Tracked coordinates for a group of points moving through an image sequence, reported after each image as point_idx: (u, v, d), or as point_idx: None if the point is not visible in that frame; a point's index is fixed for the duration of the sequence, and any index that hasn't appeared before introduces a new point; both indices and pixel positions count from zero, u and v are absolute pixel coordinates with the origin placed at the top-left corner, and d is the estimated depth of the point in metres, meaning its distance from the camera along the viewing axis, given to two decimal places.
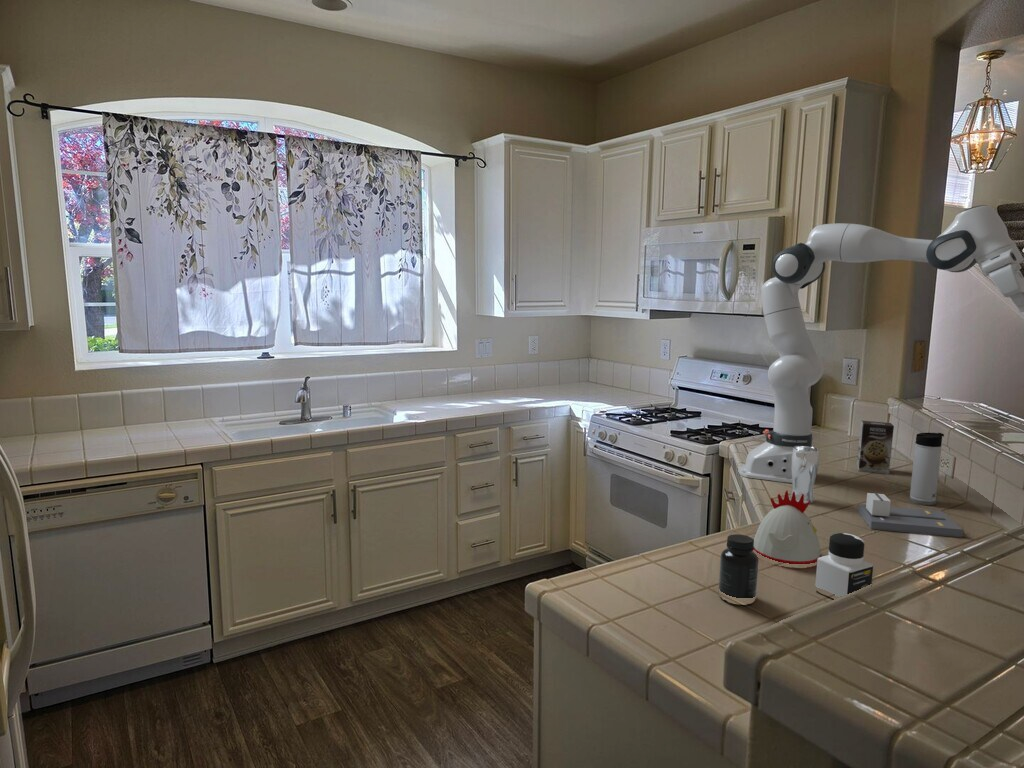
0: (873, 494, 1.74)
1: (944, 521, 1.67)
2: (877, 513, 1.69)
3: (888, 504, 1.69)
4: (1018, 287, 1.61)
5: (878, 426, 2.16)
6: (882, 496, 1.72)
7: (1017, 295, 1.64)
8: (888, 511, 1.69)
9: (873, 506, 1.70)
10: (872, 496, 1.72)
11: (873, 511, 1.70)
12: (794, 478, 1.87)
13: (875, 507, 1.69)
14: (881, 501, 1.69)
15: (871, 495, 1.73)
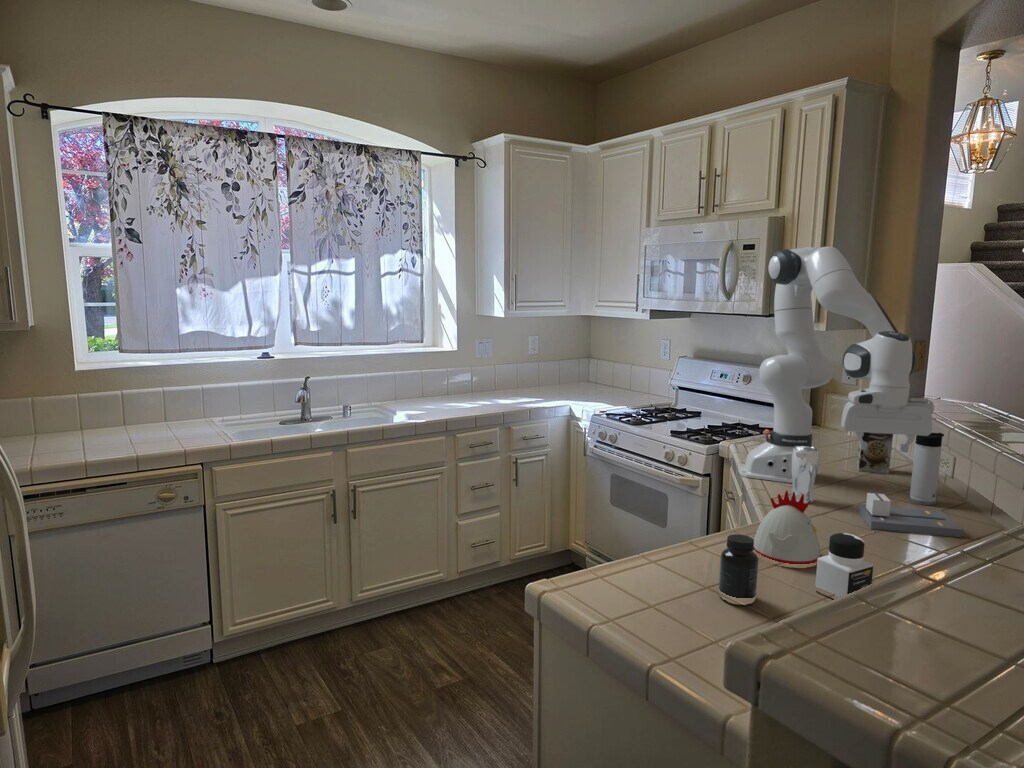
0: (873, 494, 1.74)
1: (944, 521, 1.67)
2: (877, 513, 1.69)
3: (888, 504, 1.69)
4: (844, 427, 1.70)
5: None
6: (882, 496, 1.72)
7: (857, 432, 1.71)
8: (888, 511, 1.69)
9: (873, 506, 1.70)
10: (872, 496, 1.72)
11: (873, 511, 1.70)
12: (794, 478, 1.87)
13: (875, 507, 1.69)
14: (881, 501, 1.69)
15: (871, 495, 1.73)
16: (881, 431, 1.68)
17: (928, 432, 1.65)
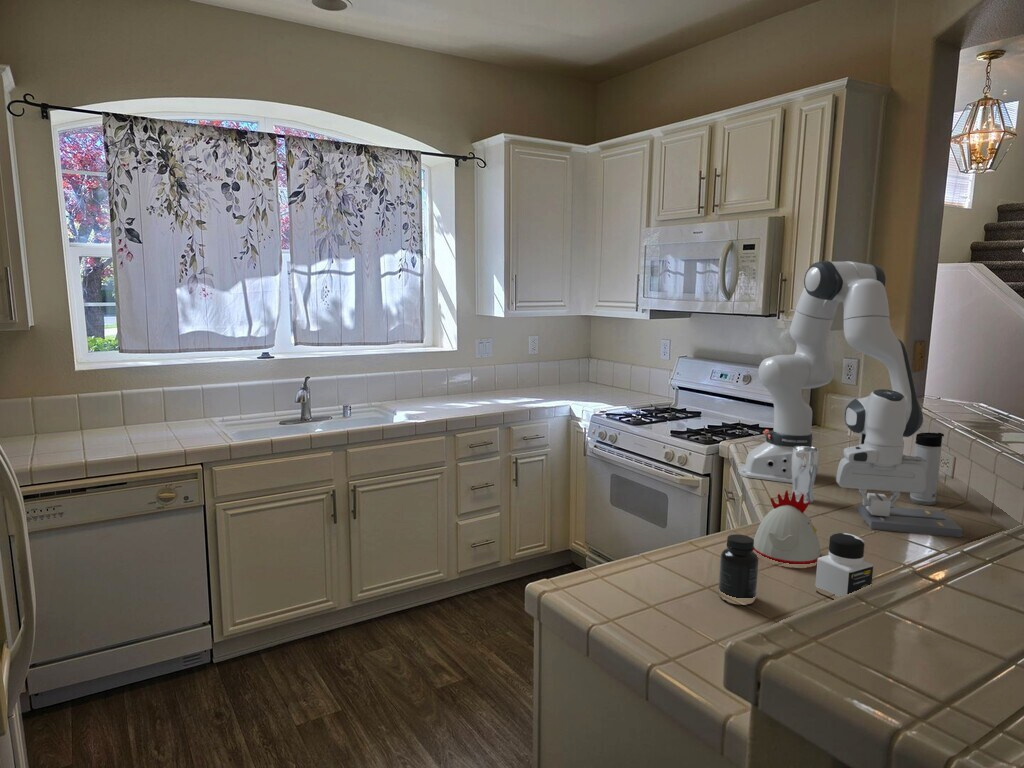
0: (873, 494, 1.74)
1: (944, 521, 1.67)
2: (877, 513, 1.69)
3: (888, 504, 1.69)
4: (839, 483, 1.72)
5: None
6: (882, 496, 1.72)
7: (860, 489, 1.72)
8: (888, 511, 1.69)
9: (873, 506, 1.70)
10: (872, 496, 1.72)
11: (873, 511, 1.70)
12: (794, 478, 1.87)
13: (875, 507, 1.69)
14: (881, 501, 1.69)
15: (871, 495, 1.73)
16: (875, 488, 1.70)
17: (922, 490, 1.67)
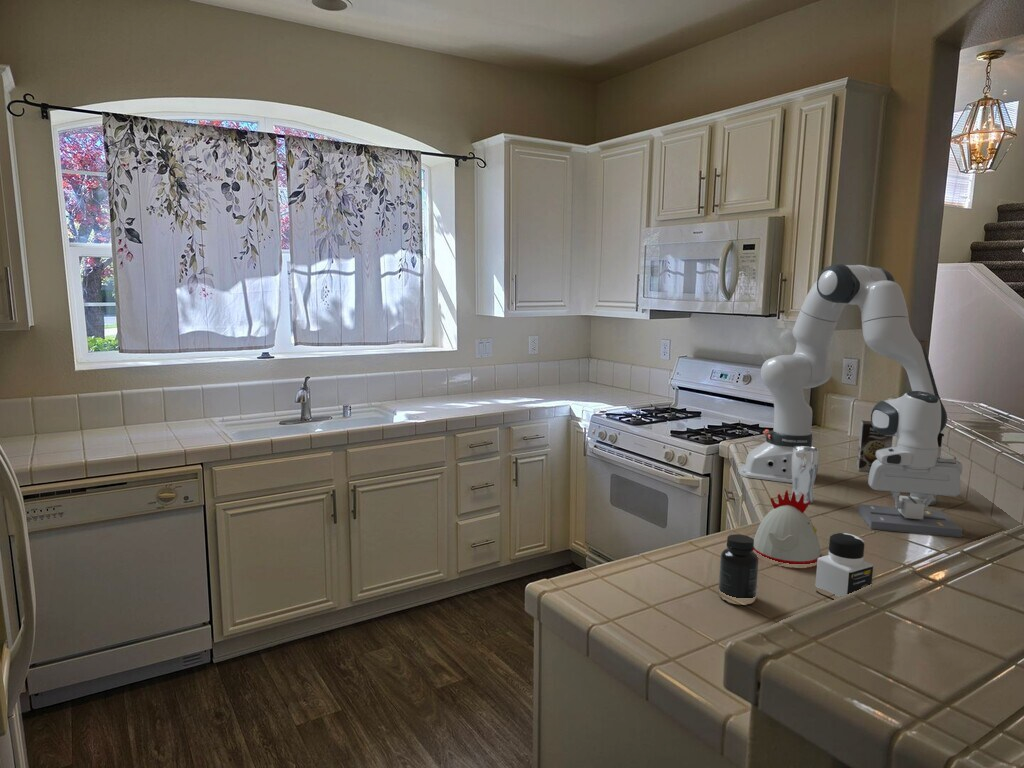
0: (906, 497, 1.72)
1: (944, 521, 1.67)
2: (910, 516, 1.68)
3: (922, 507, 1.67)
4: (871, 485, 1.70)
5: None
6: (915, 499, 1.70)
7: (893, 492, 1.70)
8: (922, 514, 1.67)
9: (906, 509, 1.68)
10: (905, 499, 1.70)
11: (906, 514, 1.68)
12: (794, 478, 1.87)
13: (909, 510, 1.67)
14: (915, 504, 1.67)
15: (904, 498, 1.71)
16: (909, 491, 1.68)
17: (956, 493, 1.65)
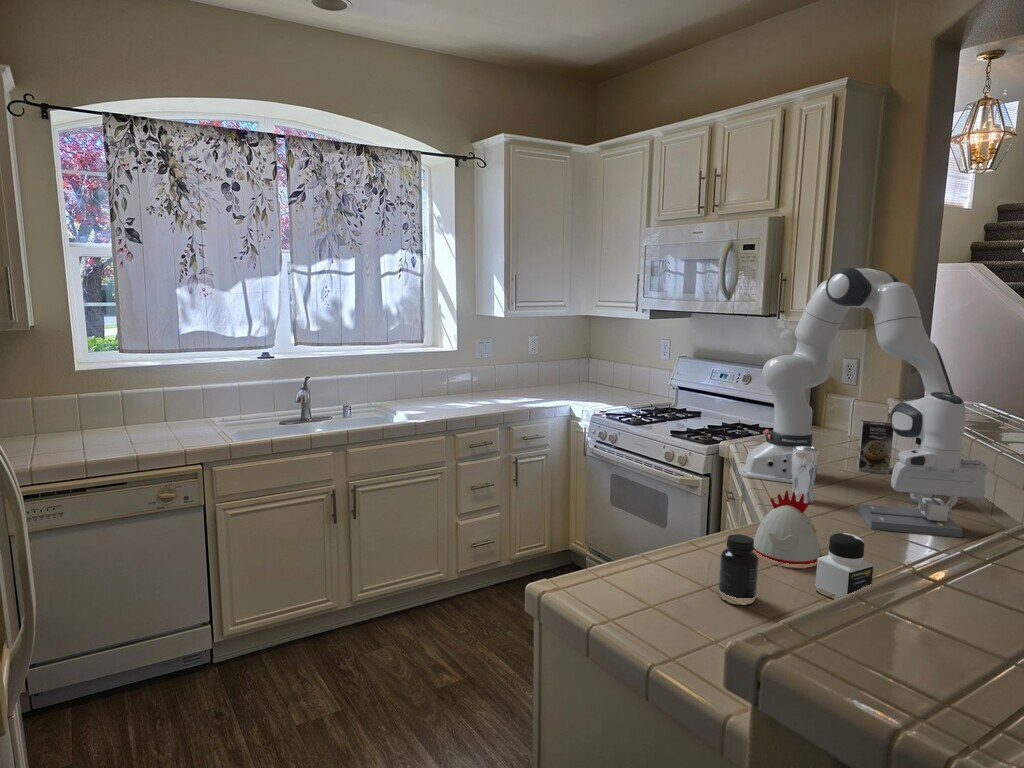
0: (929, 499, 1.70)
1: (944, 521, 1.67)
2: (934, 518, 1.66)
3: (946, 509, 1.65)
4: (895, 487, 1.69)
5: (878, 426, 2.16)
6: (938, 501, 1.69)
7: (916, 493, 1.69)
8: (946, 516, 1.66)
9: (930, 511, 1.66)
10: (928, 501, 1.69)
11: (930, 516, 1.66)
12: (794, 478, 1.87)
13: (932, 512, 1.66)
14: (939, 506, 1.66)
15: (927, 500, 1.70)
16: (933, 492, 1.67)
17: (981, 495, 1.64)
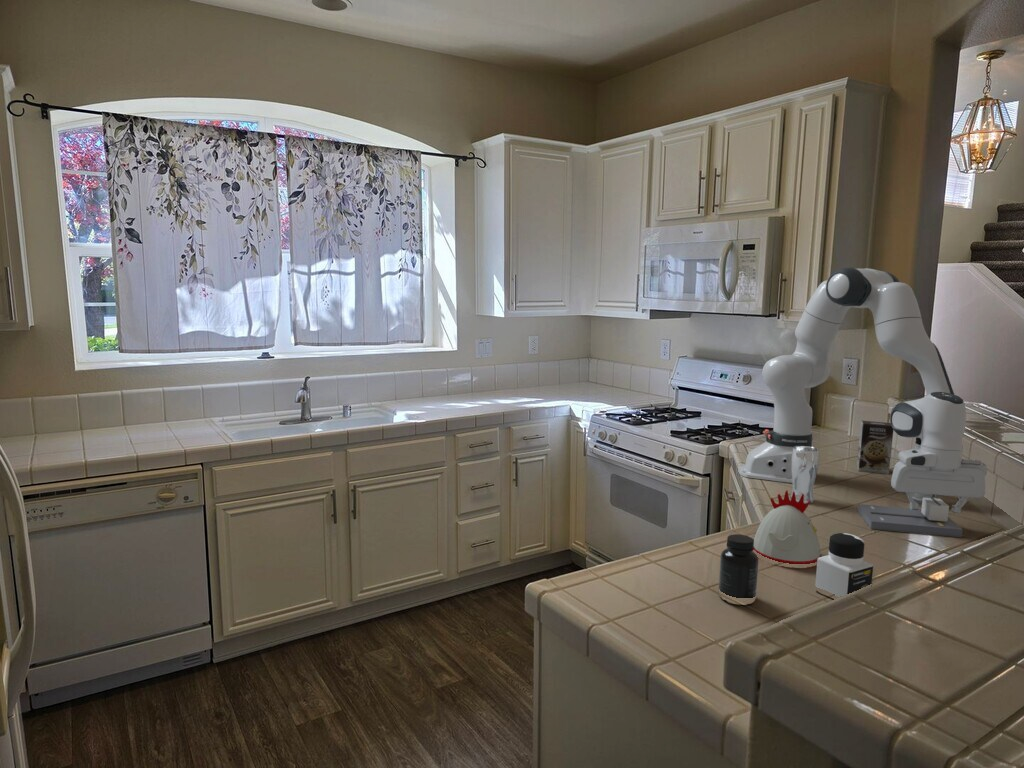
0: (929, 499, 1.70)
1: (944, 521, 1.67)
2: (935, 518, 1.66)
3: (946, 509, 1.65)
4: (895, 487, 1.69)
5: (878, 426, 2.16)
6: (939, 501, 1.69)
7: (907, 493, 1.69)
8: (946, 516, 1.65)
9: (930, 511, 1.66)
10: (929, 501, 1.69)
11: (930, 516, 1.66)
12: (794, 478, 1.87)
13: (933, 512, 1.66)
14: (939, 506, 1.66)
15: (927, 500, 1.70)
16: (933, 492, 1.67)
17: (981, 495, 1.64)
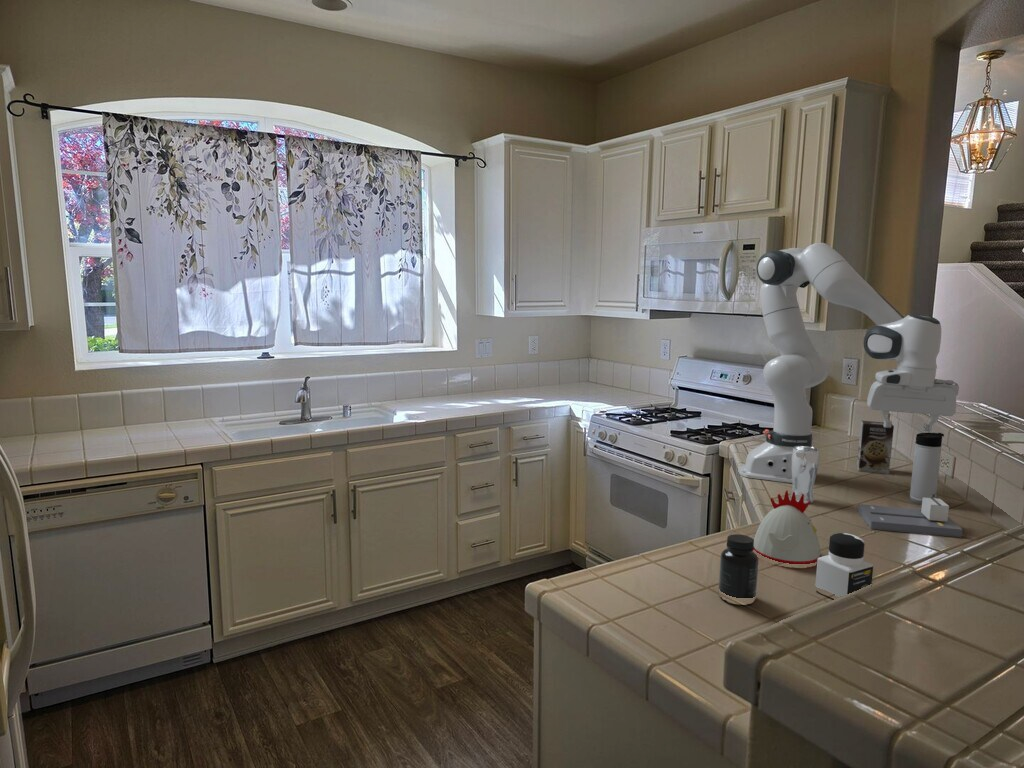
0: (929, 499, 1.70)
1: (944, 521, 1.67)
2: (935, 518, 1.66)
3: (946, 509, 1.65)
4: (870, 405, 1.76)
5: (878, 426, 2.16)
6: (939, 501, 1.69)
7: (882, 411, 1.76)
8: (946, 516, 1.65)
9: (930, 511, 1.66)
10: (929, 501, 1.69)
11: (930, 516, 1.66)
12: (794, 478, 1.87)
13: (933, 512, 1.66)
14: (939, 506, 1.66)
15: (927, 500, 1.70)
16: (906, 410, 1.74)
17: (952, 413, 1.71)
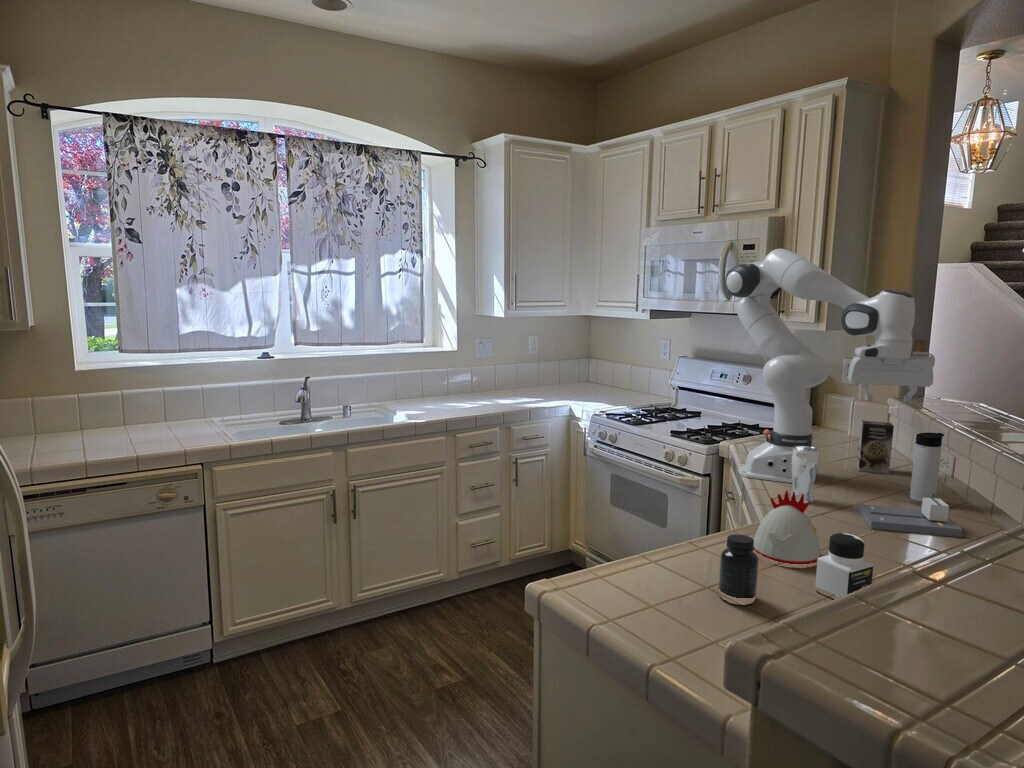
0: (929, 499, 1.70)
1: (944, 521, 1.67)
2: (935, 518, 1.66)
3: (946, 509, 1.65)
4: (851, 379, 1.82)
5: (878, 426, 2.16)
6: (939, 501, 1.69)
7: (863, 385, 1.82)
8: (946, 516, 1.65)
9: (930, 511, 1.66)
10: (929, 501, 1.69)
11: (930, 516, 1.66)
12: (794, 478, 1.87)
13: (933, 512, 1.66)
14: (939, 506, 1.66)
15: (927, 500, 1.70)
16: (885, 383, 1.80)
17: (929, 383, 1.77)
